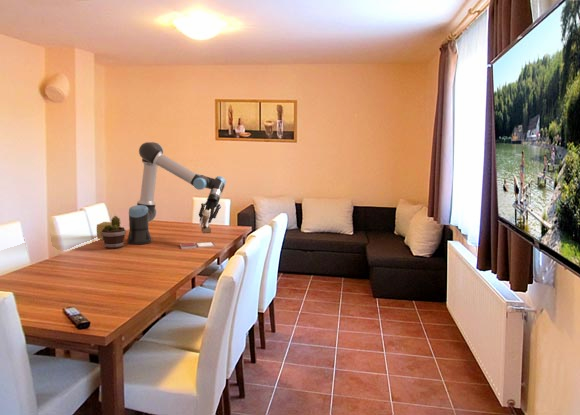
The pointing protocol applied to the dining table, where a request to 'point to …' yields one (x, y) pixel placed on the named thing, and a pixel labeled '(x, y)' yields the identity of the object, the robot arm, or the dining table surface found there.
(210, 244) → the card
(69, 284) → the dining table surface
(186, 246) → the ink pad
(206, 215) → the stamp
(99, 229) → the cheese
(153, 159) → the robot arm
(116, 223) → the flowerpot
